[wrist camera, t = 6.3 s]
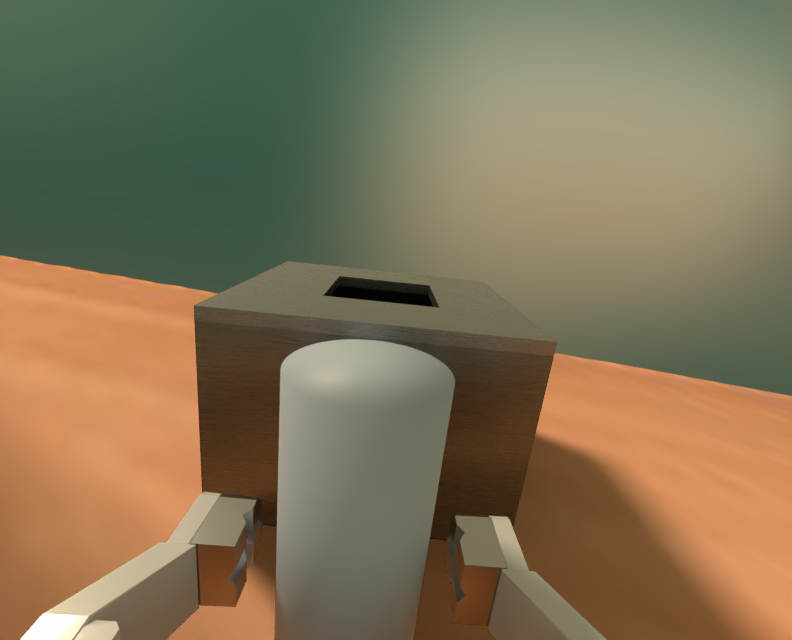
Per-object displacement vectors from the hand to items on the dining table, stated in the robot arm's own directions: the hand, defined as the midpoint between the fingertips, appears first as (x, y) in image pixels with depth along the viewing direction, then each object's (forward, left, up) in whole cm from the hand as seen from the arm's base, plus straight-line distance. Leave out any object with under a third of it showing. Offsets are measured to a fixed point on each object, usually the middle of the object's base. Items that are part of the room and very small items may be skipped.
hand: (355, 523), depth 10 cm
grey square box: (0, +12, -6) cm, 14 cm away
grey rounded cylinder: (0, -1, -6) cm, 6 cm away
